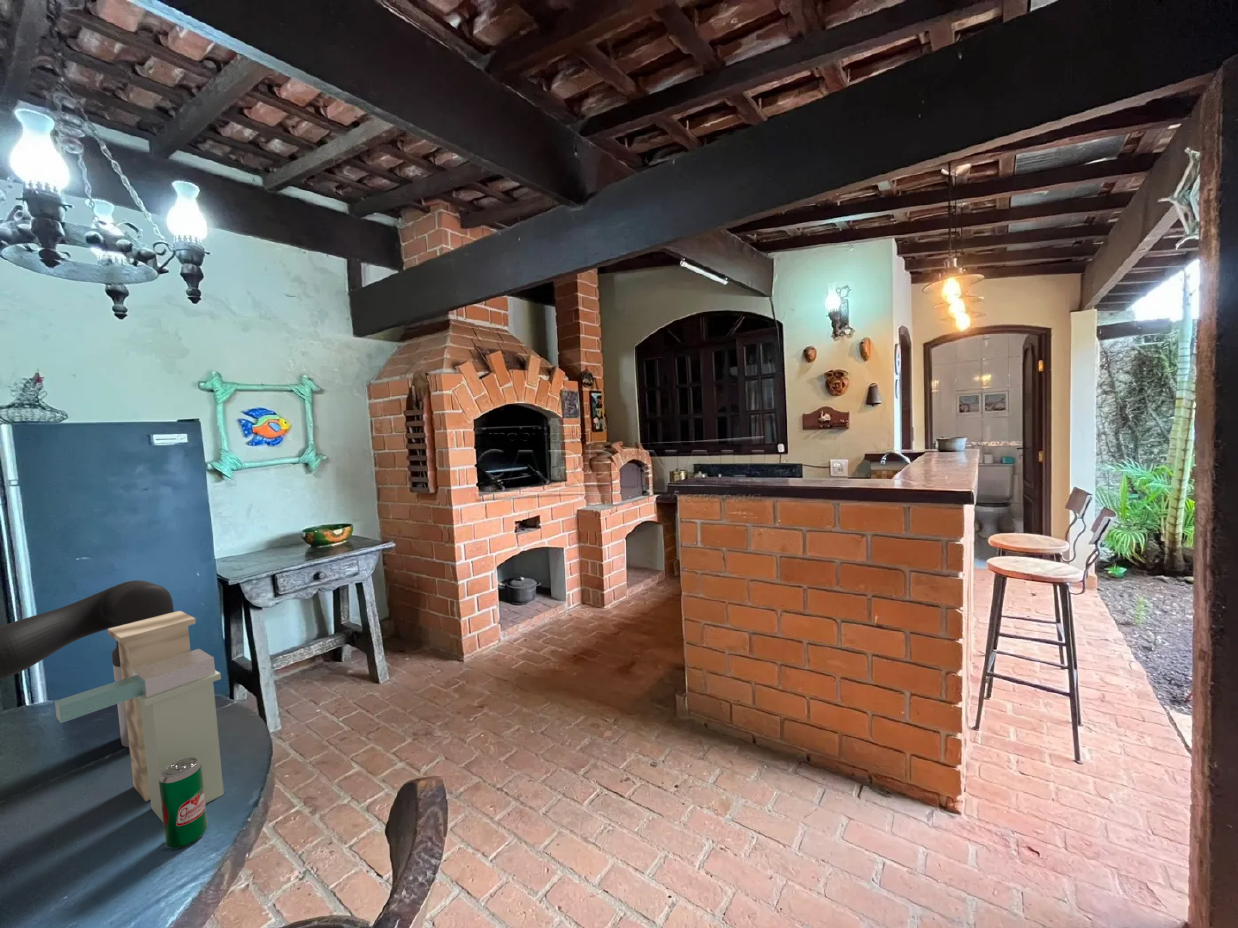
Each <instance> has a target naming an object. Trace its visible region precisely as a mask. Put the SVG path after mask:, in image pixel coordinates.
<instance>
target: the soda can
mask: <svg viewBox="0 0 1238 928" xmlns="http://www.w3.org/2000/svg"><path fill="white" fill-rule="evenodd" d="M161 774H162V775H161V777H160V779H159V787H160V797H161V806H162V816H163V822H162V823H163V825H162V826H163V832H164V833H163V834H164V843H165V846H166V847H168V848H170V849H174V850H176V849H177V850H178V849H183V848H184V847H187V846H190V845H191V844H193V843H195V842H196V841H198V840H199V839H200V838H201V837H202V836H203V835H204V834H205V832H206V831H207V828H208V819H207V818H208V817H207V809H206V807H207V806H206V804H205V796H204V786H203V775H202V765H201V763H199V762H198V759H197V758H194V757H190V758H184V759H181V760H178V761H176V762H173V763H172V764H170V765H168V766H167V767H165V768H164V769H163V771H162V773H161Z"/></svg>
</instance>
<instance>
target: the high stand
mask: <svg viewBox="0 0 1238 928" xmlns="http://www.w3.org/2000/svg"><path fill="white" fill-rule="evenodd" d="M196 623H197V621H196V618H195V617H194V616H192V615H189V614H188V613H186V612H184V611H182V610H177V611H174V612H172V613H168V614H164V615H160V616H156V617H153V618H149V619H145V620H141V621H137V622H133V623H129V624H125V625H121V626H117V627H112V628H109V629H107V633H108V636H110V637H111V638H113V639H114V640H117V641H118V646H119V656H120V665H121V674H122V680H123V679H126V678H129V677H132V669H135V668H138V667H141V666H144V665H148V664H151V663H154V662H157V661H161V660H164V659H167V658H170V657H173V656H177V655H180V654H183V653H186V652H190V651H191V643H190V642H191V641H190V634H189V633H190V632H189V627H190V626H192V625H195V624H196ZM124 702H125V711H126V720H127V729H128V738H129V747H128V748H129V754H130V755H129V756H130V763H131V764H130V765H131V773H132V782H133V785H132V786H133V788H134V789H135V790H136V791H137V792H138V793H139V795H140V796H141V797H142V799H143V800H144V801H145V802H147V801H149V800H150V790H149V781H148V772H147V762H146V753H145V743H144V734H143V724H142V715H141V706H140V701H139V700H137V699H136V698H132V699H129V700H127V701H124ZM150 801H151V800H150Z"/></svg>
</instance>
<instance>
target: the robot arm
mask: <svg viewBox="0 0 1238 928" xmlns="http://www.w3.org/2000/svg"><path fill="white" fill-rule="evenodd" d="M172 612H175V611H174V601H173V597H172V595H171V593H170V591H169V590H168V589H166V588H165V587H164V586H162V585H159V584H156V583H152V582H149V581H146V580H138V579H137V580H128V581H124V582H122V583H120V584H116V585H114V586H112V587H109V588H106V589H104V590H102V591H99V592H97V593H94V594H93V595H89V596H88V597H86V598H82V599H80V600H78V601H76V602H73V603H70V604H67V605H64V606H62V607H59V608H57V609H53V610H48V611H45V612H43V613H39V614H35V615H32V616H28V617H25V618H23V619H19V620H16V621H12V622H10V623H6V624H3V625H0V681H2V680H5V679H7V678H10V677H12V676H14V675H16V674H18V673H21V672H23V671H25V670H27V669H29V668H31V667H33V666H34V665H36V664H38V663H40V662H41V661H43V660H45V659H46V658H48V657H49V656H51V655H53V654H54V653H56V652H57V651H59V650H61V649H62V648H64V647H66V646H68V645H70V644H71V643H73V642H75V641H78V640H80V639H83V638H86V637H87V636H91V635H93V634H96V633H100V632H102V631H105V630H108V629H109V628H113V627H117V626H121V625H125V624H129V623H133V622H137V621H141V620H145V619H149V618H153V617H156V616H160V615H164V614H168V613H172ZM111 658H112V659H111V661H112V669H113V678H114V682H116V681H120V680H122V674H121V665H120V656H119V646H118V641H117V640H116V645H115V648H114V649H113V650H112V653H111ZM116 705H117V715H118V723H119V733H120V742H121V746H123V747H125V748H129V738H128V729H127V720H126V711H125V702H121V703H118V704H116Z"/></svg>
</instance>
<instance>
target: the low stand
mask: <svg viewBox="0 0 1238 928" xmlns="http://www.w3.org/2000/svg"><path fill="white" fill-rule="evenodd" d="M221 679H222V675H221V672H220V671H217V670H216V669H215V674H214V675H211V676H209V677H206V678H203V679H200V680H197V681H194V682H191V683H189V684H186V685H183V686H180V687H177V688H174V689H172V690H169V691H166V692H163V693H160V694H157V695H155V696H152V697H149V698H146V697H145V696H144V695H141V696H138V697H135V698H136V699H137V700H139V701H140V706H141V715H142V724H143V734H144V743H145V753H146V762H147V772H148V781H149V790H150V806H151V807H150V808H151V810H152V811H153V812H154V813H155V815H157V817H158V818H159V819H160V821H161V822H162V823H163V816H162V806H161V797H160V787H159V779H160V777H161V775H162V774H161V773H162V771H163V769H164V768H165V767H167V766H168V765H170V764H172V763H173V762H176V761H178V760H181V759H184V758H190V757H194V758H197V759H198V762H199V763H201V765H202V775H203V786H204V796H205V805H206V804H208V803H210V802H211V801H214V800H216V799H218V798H220V797H222V796H224V795H225V793H224V783H223V772H222V763H221V753H220V752H221V751H220V741H219V739H220V738H219V730H218V729H219V728H218V719H217V707H216V697H215V688H214V686H215V685H214V682H217V681H219V680H221Z"/></svg>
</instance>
